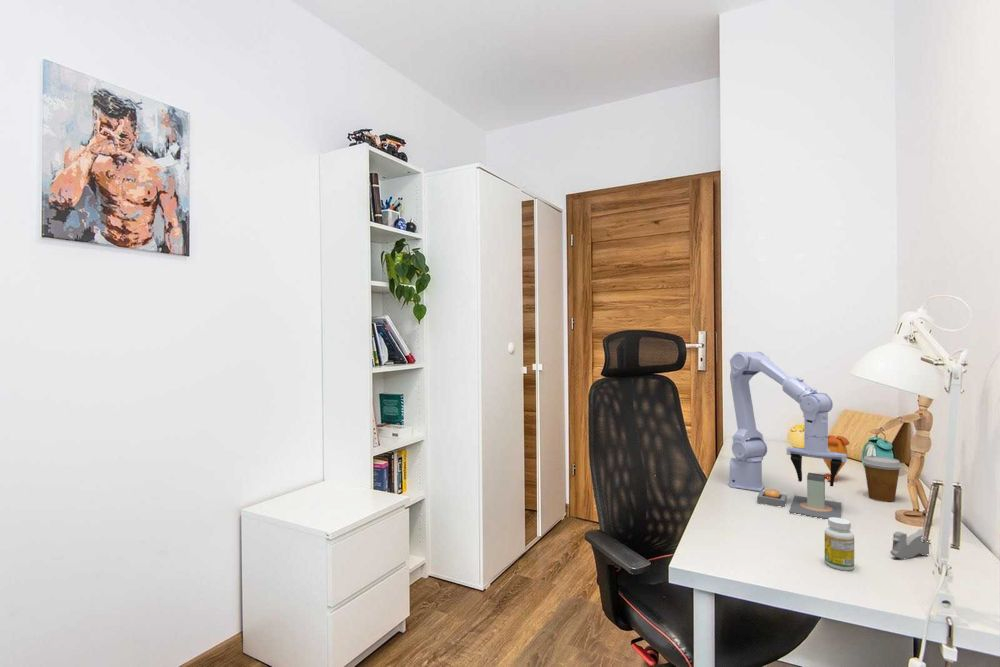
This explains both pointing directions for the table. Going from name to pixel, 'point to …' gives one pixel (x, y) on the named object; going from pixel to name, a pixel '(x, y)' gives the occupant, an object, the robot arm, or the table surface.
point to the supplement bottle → (839, 544)
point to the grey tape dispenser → (908, 545)
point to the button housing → (772, 499)
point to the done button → (772, 493)
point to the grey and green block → (816, 491)
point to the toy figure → (838, 447)
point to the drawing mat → (801, 508)
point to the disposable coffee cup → (881, 477)
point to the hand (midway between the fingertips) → (815, 483)
